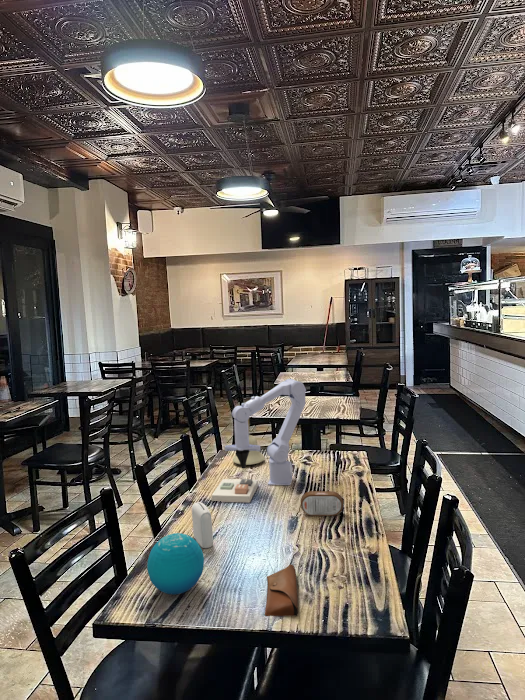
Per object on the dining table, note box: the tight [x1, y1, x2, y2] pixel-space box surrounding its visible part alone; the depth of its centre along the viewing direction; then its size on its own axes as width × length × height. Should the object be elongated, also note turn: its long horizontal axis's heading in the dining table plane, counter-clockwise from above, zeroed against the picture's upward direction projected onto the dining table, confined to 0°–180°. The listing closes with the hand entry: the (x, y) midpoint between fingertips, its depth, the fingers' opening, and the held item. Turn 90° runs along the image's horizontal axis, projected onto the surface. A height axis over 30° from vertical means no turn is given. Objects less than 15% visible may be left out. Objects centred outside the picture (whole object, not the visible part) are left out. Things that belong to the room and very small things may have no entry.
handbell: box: [232, 418, 265, 466], centre depth 227 cm, size 15×15×25 cm
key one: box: [240, 478, 253, 486], centre depth 195 cm, size 4×4×3 cm
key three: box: [220, 483, 234, 490], centre depth 192 cm, size 4×4×3 cm
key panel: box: [211, 478, 259, 503], centre depth 192 cm, size 15×17×2 cm
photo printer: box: [191, 501, 214, 549], centre depth 153 cm, size 10×4×12 cm, turn 26°
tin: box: [300, 490, 344, 517], centre depth 168 cm, size 15×3×8 cm, turn 84°
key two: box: [235, 484, 249, 494], centre depth 187 cm, size 4×4×3 cm
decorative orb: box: [146, 532, 205, 595], centre depth 127 cm, size 15×15×15 cm
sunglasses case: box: [264, 564, 299, 617], centre depth 124 cm, size 18×7×7 cm
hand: (243, 467), depth 196 cm, fingers closed
